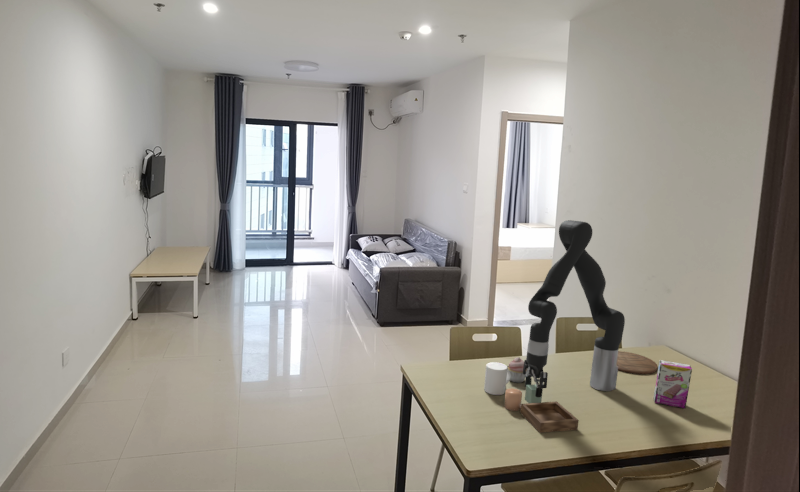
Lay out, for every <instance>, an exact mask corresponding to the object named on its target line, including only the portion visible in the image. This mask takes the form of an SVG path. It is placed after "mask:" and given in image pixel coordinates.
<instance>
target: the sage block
mask: <svg viewBox="0 0 800 492" xmlns="http://www.w3.org/2000/svg"><path fill="white" fill-rule="evenodd" d="M536 387H537V386H536V383H535V384H534V383H533V384H531V385H526V387H525V396H524V400H525V401H526V403H542V401H543V400H542V399H543V395H542V396H541V397H536V396H535V395H536ZM543 390H544V388H543V389H542V392H543Z"/></svg>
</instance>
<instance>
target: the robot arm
mask: <svg viewBox="0 0 800 492" xmlns="http://www.w3.org/2000/svg"><path fill="white" fill-rule="evenodd" d="M558 235H559V239H560V241H561V243H562V245H563V247H564V249H565V251H566V252H565V253H564V255H563V256H561V257H560V259H559V260H557V261H556V262H555V263H554V264H553V265H552V266H551V267H550V268H549V271H548V272H547V273H546V275H545V277H544V281H543V283H542V285H541V287H540V288H539V289H538V290H537V291H536V293H534V295H533V296H532V298H530V300H529V303H528V305H527V307H528V312H529V313H528V314H530V315H531V316H534V317H535V318H540V322H533V323H531V326H530V329H529V340H528V343H527V348H526V349H527V352H526V357H525V359H524V360H523V361H524V367H523V374H525V379H524V382H525V383H524V388H526V385H532V379H533V381H534V383H535V384H536V386H537V387H536V395H535V396H536V397H541V396H542V397H543V391H542V389H543V390H544V389H547V386H548V374H549V373H548V371H547V372H544V367H545V366H547V364H548V363H547V362H548V356H549V355H548V354H549V347H550V346H549V341H550V331H551V329H552V326H553V324H554V322H555V320H556V317H557V315H558V314H557V313H558V308H557V305H556V304H555V303H554V302H553V301H551V300H548V299H550V298H552V297H555V298H556V297H558V296H560V294H561V292H562V290H563V288H564V287H565V283H566V281H567V279H568V276H569V274H570V273H571V271H572V269H574V270H575V272H576V275H577V278H578V280H579V283H580V285H581V287H582V289H583V293H584V295H585V298H586V301H587V303H588V307H589V310H590V313H591V317H592V322H593V323H594V325H595V326H596V327H598V328H599V329H601V330H603V331H605V332H604V335H603V336H598V337H596V338H595V339H594V347H593V356H592V363H591V369H590V371H591V372H590V377H589V378H590V381H589V386H590V387H591V388H593V389H595V390H598V391H601V392H611V391H613V390H616V388H617V380H618V373H619V371H618V366H616V365H617V357H618V351H619V348H620V345H621V342H622V341H623V334H624V329H625V324H626V323H625V321H626V319H625V315H624V313H623V312H622V311H620V310H617V309H614V308H611V307H609V306H608V305H607V302H606V299H605V297H604V292H605V288H606V283H607V281H606V278H605V274H604V272H603V271H602V267H601V266H600V264H599V263H598V262H597V260H595V258H594V257H592V255H590V253H588V252H587V250H586V248H587V247H588V245H589V243H590V242H591V240H592V237H593V228H592V226H591V224H590V223H588V222H586V221H581V220H580V221H579V220H571V219H570V220H564V221H562V222H561V223H560V225H559V228H558ZM526 369H528V370H527V371H526Z"/></svg>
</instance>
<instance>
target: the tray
mask: <svg viewBox="0 0 800 492" xmlns="http://www.w3.org/2000/svg"><path fill="white" fill-rule="evenodd" d="M519 411H520V414H521V415H522V416H523V418H524V419H526V420H527V421H528V423H530V424H531V426H533V428H535V429H536V430H537V432H538V433H539V434H541V433H551V432H552V433H553V432H564V431H565V432H568V431H578V429H579V428H578V427H579V422H580V421H579V419H578V418H577V417H575V416H574V415H573V414H572V413H571V412H570V411H569V410H568V409H566V408H565V407H564V406H563V405H562V404H560V403H559V402H558V401H544V402H542V401H541V403H528V402H526V403H521V409H520V410H519Z"/></svg>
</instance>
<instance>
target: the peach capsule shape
mask: <svg viewBox="0 0 800 492" xmlns="http://www.w3.org/2000/svg"><path fill="white" fill-rule="evenodd" d="M522 398H523V391H521V390H519V389H518V388H511V387H509V388H506V390H505V393H504V404H503V407H504V409H506V410H508V411H512V412H517V411H521V404H522Z"/></svg>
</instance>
